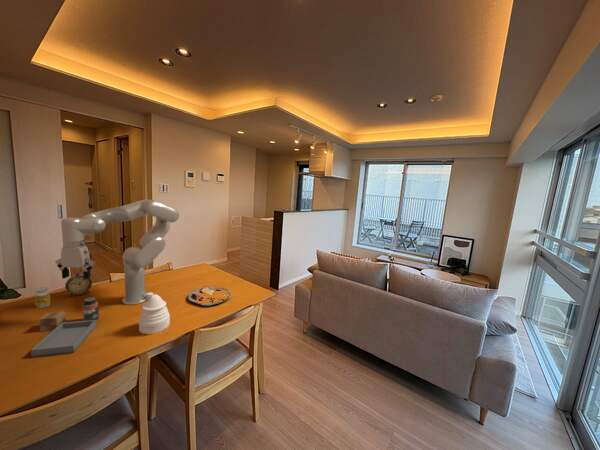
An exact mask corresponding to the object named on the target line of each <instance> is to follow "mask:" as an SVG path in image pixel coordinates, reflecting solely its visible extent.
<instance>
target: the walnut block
mask: <svg viewBox="0 0 600 450" xmlns="http://www.w3.org/2000/svg"><path fill="white" fill-rule="evenodd" d="M38 322H39V329H40V330H39V331H40V332H52V331H53V330H54V329H55V328H56V327H58V326H59V325H60V324H61V323H64V322H66V312H65V311H64V310H63V311H51V312H50V311H48V312H47V313H45V314H44V315H43V316H42V317H40V318H39V320H38Z"/></svg>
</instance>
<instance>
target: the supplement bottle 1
mask: <svg viewBox="0 0 600 450" xmlns="http://www.w3.org/2000/svg"><path fill="white" fill-rule="evenodd" d="M35 291H36V293H35V294H34V300H35V301H34V302H35V303H34V304H35V307H36V308H40V309H42V308H45V307H46V308H47V307H49V306H50V305H51V295H50V294H51V293H50V291H49V290H48V287H47V286H41V287H38V288H36V289H35Z"/></svg>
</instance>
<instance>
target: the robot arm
mask: <svg viewBox="0 0 600 450" xmlns="http://www.w3.org/2000/svg"><path fill="white" fill-rule="evenodd" d="M147 215H149V216H152V217H155V223H154V224H153V226H152V227H151V228H150V229H149V230H148V231H147V232H146V233H144V235H143V236H141V238H140V239H139V245H140V246H141V247H142V248H140V247H137V246H131V247H128V248H126V249H125V250H124V251H123V254H122V263H123V268H124V292H125V293H124V295H125V296H124V297H123V298H122V299H121V302H122V304H124V305H128V306H131V305H137V304H138V305H139V304H142V303H144V302H147V301H148V299H149V297H148V296H147V293H150V292H147V291H148V290H147V289H146V279H145V277H146V274H145V273H146V270H145V268H146V267H147V266H149V265H150V264H151V263H152V262H153V261H154V260H155V259H156V258H158V256H159V255H160V254H161V253H162V252H163V251H164V249H165V247H166V244H167V243H166V240H165V237H166V236H167V234H168V232H169V230H170V229H171V223H175V222H177V221H178V220H179V218H180V213H179V211H178V210H177V209H176V208H173V207H171V206H169V205H166V204H163V203H161V202H159V201H157V200H154V199H153V200H152V199H141V200H138V201H133V202H131V203H128V204H124V205H120V206H117V207H112V208H106V209H103V210H98V211H95V212H92V213H91V212H90V213H88V214H86V215H83V216H82V217H65V218H62V219H61V221H60V223H61V225H60V226H61V235H62V236H61V237H62V246H61V250H60V251H61V253H60V258H59V259H56V260H55V261H54V262H55V264H56V266H57V267H58V269H59V271H61V278H62V279H67V278H70V277H71V276H70V268H71V269H73V268H75V269H76V268H80V269H81V270H82V271H83V274H82V275H83V276H84V280H86V279H88V278H90V279H91V270H92V269H93V268H95V265H96V261H93V260H92V259H91V258H90V252H89V249H88V246H87V242H86V241H85V240H86V239H85V234H86V233H89V234H90V233H94V234H95V233H96V234H97V233H100V232H102V231H104V230H105V228H106V226H107V224H110V223H117V222H119V223H121V222H122V223H124V222H129V221H133V220H135V219H138V218H141V217H143V216H147Z"/></svg>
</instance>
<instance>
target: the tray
mask: <svg viewBox="0 0 600 450" xmlns="http://www.w3.org/2000/svg"><path fill="white" fill-rule="evenodd" d="M97 322H98V320H89V321H83V320H81V321H80V320H78V321H68V322H67V321H65V322H64V323H61V324H60V325H59V326H58V327H56V328H55V329H54V330H52V331H50V332H49V333H48V334H47V335H46V336H45V337H43V339H42V340H40V342H38V343H37V344H36V345H35V346H34V347H33V348H31V349H30V356H31V358H36V357H38V358H39V357H47V356H55V355H65V354H72V353H73V354H74V353H75V352H76V351H77V350H78V348H79V347H80V346H81V345H82V344H83V343H84V341H86V339H87V338H88V337H89V335H90V334H92V332H93V331H94V330H95V329H96V328H97V326H98V325H97ZM82 342H83V343H82Z"/></svg>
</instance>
